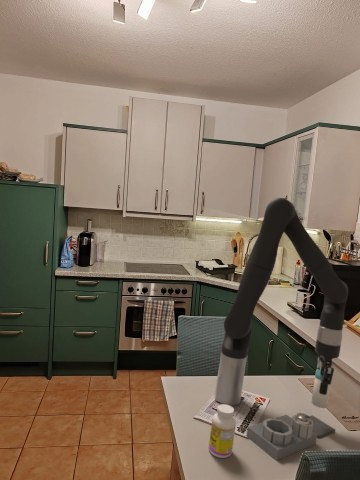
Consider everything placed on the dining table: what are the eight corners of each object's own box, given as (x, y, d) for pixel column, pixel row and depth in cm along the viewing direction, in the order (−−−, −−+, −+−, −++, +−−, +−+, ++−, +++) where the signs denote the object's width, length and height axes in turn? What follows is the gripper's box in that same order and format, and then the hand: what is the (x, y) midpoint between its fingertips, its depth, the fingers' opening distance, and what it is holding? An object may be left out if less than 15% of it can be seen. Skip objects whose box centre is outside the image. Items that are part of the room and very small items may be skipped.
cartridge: (312, 406, 122) (317, 373, 121) (310, 398, 127) (314, 367, 126) (328, 409, 121) (333, 376, 121) (325, 401, 126) (330, 370, 126)
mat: (318, 438, 119) (318, 435, 119) (295, 423, 126) (295, 420, 126) (334, 431, 124) (335, 429, 124) (311, 417, 131) (312, 415, 131)
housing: (276, 460, 105) (280, 436, 105) (246, 436, 115) (249, 414, 115) (315, 444, 116) (319, 422, 115) (285, 423, 125) (288, 403, 125)
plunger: (302, 437, 113) (304, 421, 112) (291, 429, 116) (293, 414, 116) (310, 434, 115) (313, 418, 115) (299, 427, 118) (302, 411, 118)
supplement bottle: (206, 443, 109) (212, 401, 108) (228, 444, 110) (234, 402, 109) (210, 458, 102) (216, 414, 101) (233, 460, 103) (240, 415, 102)
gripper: (346, 350, 115) (337, 402, 116) (335, 335, 129) (328, 383, 130) (320, 345, 116) (312, 397, 118) (313, 331, 130) (306, 378, 132)
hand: (321, 389), depth 124 cm, fingers closed on cartridge, 5 cm apart
